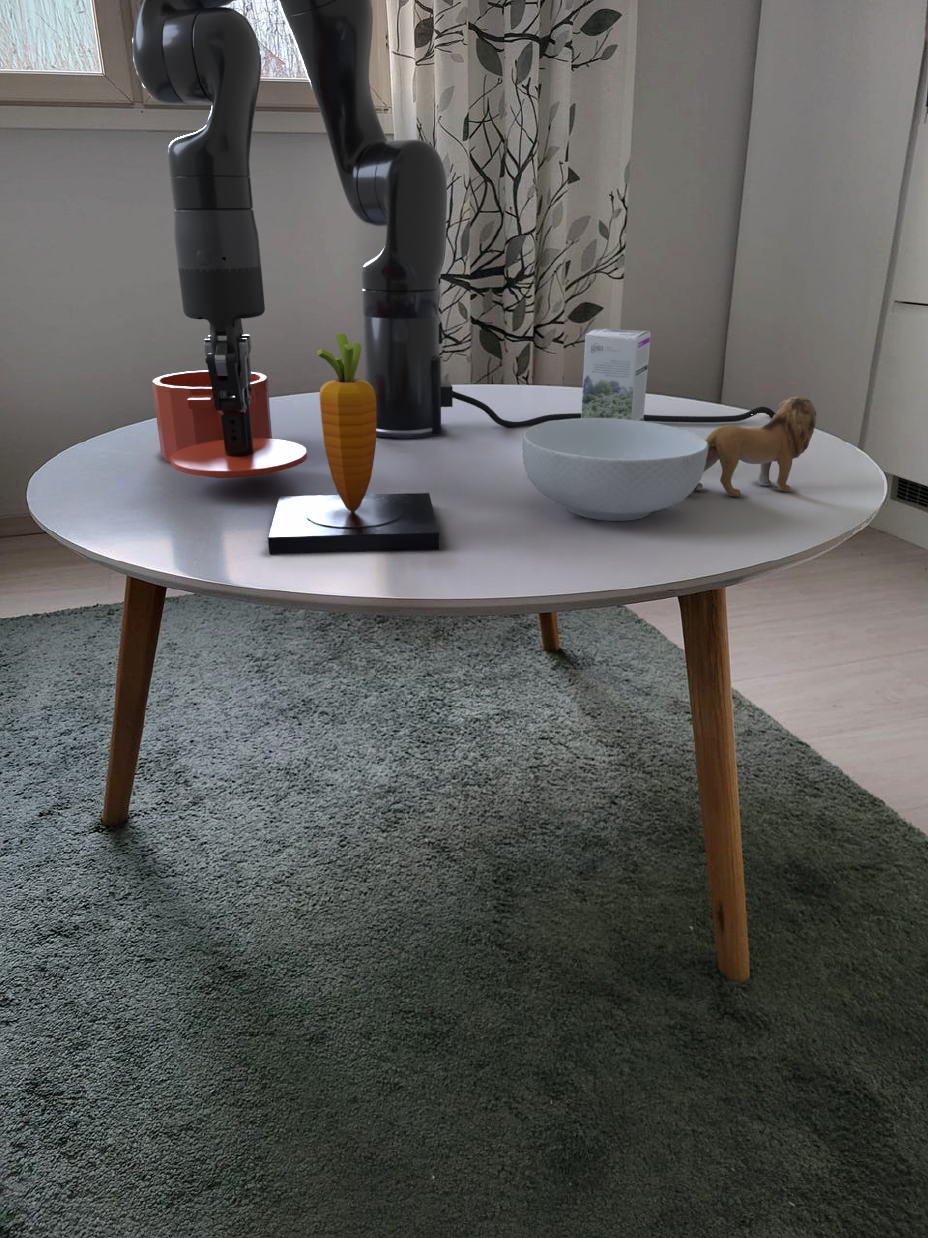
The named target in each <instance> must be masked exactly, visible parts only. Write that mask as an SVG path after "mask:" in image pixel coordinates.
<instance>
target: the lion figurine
mask: <svg viewBox="0 0 928 1238" xmlns="http://www.w3.org/2000/svg"><path fill="white" fill-rule="evenodd" d="M817 415H818V413H817V411H816V408H815V406H814V404H813V402H812V401H811V400H810V399H809V398H806V397H805V396H790V397H789V398H788V399H784V400H783V401H781V402H780V403H779V404H778V410H777V412H776V413H775V415H774V416H773V417H772V418H771V419H770V421H769V422H768V423H766V424H765V425H763V426H761V427H743V426H738V425H733V424H728V425H727V424H725V425H722V426H719V427H717V428H716V429H714V430H713V431H712V432H711V433H710V434H709V435H708V436H707V438H706V439H705V440H706V441H707V443H708V454H707V458H706V464H705V467H704V471H703V473H705V472H706V471H707V470H709V469H710V468H712V466H714V465H715V464H717V462H718V461H719V463H720V466H721V476H720V479H719V482H720V483H721V485H722V487H723V488H724V490H725V492H726V494H727V495H728V496H729V497H734V498H735V497H740V496H741V495H742V492H741V491H740V489H738V488H735V487H733V484H732V477H733V475H734V473H735V471H736V469H737V467H738V464H739V462H740V461H741V462H743V463H745V464H750V465H760V468H759V469H760V470H759V475H758V479H757V480H758V481H757V484H758V485H759V486H764V487H767V486H768V487H769V486H771V484H772V481H771V480H770V470H771V466H772V463H773V462H776V463H777V465H778V476H777V480H776V485H777V489H778V491H780V492H784V493H789V492H791V490H792V488H791V486H790V485H789V484H787V481H788V479H789V475H790V472H791V469H792V467H793V460H794V459H798V458H799V457H800V456H801V455H802V454H803V453H805V451H806V450H807V449H808V448H809V445H810V442H811V439H812V437H813V435H814V432H815V428H816V425H817ZM703 487H704V486H703V483H701V482H699V483H698V485H697V486H696V488H695V489H694V491H692V492H691V493H692V494H693V493H695V492H696V491H702V490H703ZM691 493H690V494H691Z"/></svg>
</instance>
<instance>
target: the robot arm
mask: <svg viewBox="0 0 928 1238" xmlns="http://www.w3.org/2000/svg"><path fill="white" fill-rule="evenodd" d="M236 1H237V0H142V2H141V4H140V6H139V10H138V13H137V16H136V19H135V22H134V28H133V34H132V58H133V64H134V69H135V71H136V74H137V77H138V79H139V81H140V83H141V85H142V86H143V88H144V90H145V91H146V93H148V95H150V96H151V97H152V99H154V100H155V101H157V102H160V103H162V104H164V105H170V106H188V105H189V106H190V105H211V110H210V113H209V116H208V119H207V121H206V124H205V126H204V127H203V128H201V129H199V130H198V131H196V132H193V133H189V134H186V135H183V136H180V137H177V138H175V139H174V140H172V141H171V142H170V144H169V145H168V150H167V162H168V172H169V179H170V187H171V188H170V189H171V196H172V204H173V209H174V211H173V214H174V216H173V217H174V231H173V235H174V246H175V255H176V261H177V269H178V271H177V272H178V278H179V285H180V293H181V294H180V295H181V303H182V311H183V313H184V315H185V316H186V317H187V318H189V319H193V320H206V321H207V322H208V323H209V335H207V338H205V339H204V340H203V341H204V342H203V344H204V355H205V364H206V366H207V370H208V371H209V377H210V382H211V387H212V392H213V398H214V407H215V408H216V411H219V414H221V418H222V427H223V436H224V445H225V449H226V451H228V452H244V451H246V450H247V448H248V438H247V428H246V418H245V409H246V404H245V398H244V396H245V397H248V399H249V404H250V401H251V397H250V396H249V395H251V391H252V388H251V386H250V381H251V377H252V372H253V371H252V364H251V355H250V354H251V351H252V341H251V335H250V334H244V329H243V324H242V323H243V322H242V319H243V320H245V319H246V320H247V319H253V318H257V317H260V316H262V315H263V314H264V313H265V311H266V307H265V306H266V305H265V304H266V303H265V294H264V282H263V271H262V261H261V250H260V249H261V248H260V238H259V233H258V232H259V231H258V227H257V223H256V217H255V212H254V201H253V189H252V179H251V168H250V167H251V166H250V157H251V156H250V155H251V148H252V147H251V145H252V138H253V137H252V136H253V129H254V121H255V114H256V109H257V108H256V107H257V102H258V97H259V91H260V86H261V76H262V53H261V47H260V43H259V40H258V37H257V34H256V32H255V30H254V28H253V26H252V24H251V23H250V21H249V20H248V19H247V17H245V15H243V14H242V13H241V12H240V11H239V10H237V9H235V8H232V7H226V6H229V5H231V4H233V3H235V2H236ZM277 2H278V5H279V8H280V10H281V13H282V15H283V17H284V20H285V22H286V25H287V26H288V29H289V31H290V35H291V36H292V39H293V41H294V43H295V46H296V48H297V51H298V54H299V58H300V60H301V62H302V65H303V69H304V71H305V74H306V76H307V79H308V81H309V85H310V87H311V90H312V92H313V95H314V98H315V100H316V103H317V106H318V109H319V112H320V115H321V118H322V121H323V125H324V129H325V132H326V135H327V139H328V142H329V146H330V149H331V153H332V156H333V159H334V163H335V166H336V171H337V174H338V177H339V180H340V184H341V186H342V190H343V193H344V195H345V198H346V200H347V201H346V202H348V205H349V207H350V209H351V210H352V212H353V213H354V214H355V216H356V217H357V219H358V220H360V221H361V222H363V223H364V224H366V225H368V226H370V227H374V228H386V235H385V243H384V246H383V248H382V250H381V251H380V253H378V255H377V256H375V257H374V258H371V260H368V261H367V262H365V263H364V264H363V266H362V269H361V288H362V310H363V311H362V314H363V341H364V342H363V343H364V367H365V369H364V371H365V381H366V382H368V383H369V384H370V385H371V386H372V387H373V389H374V391H375V394H376V437H377V436H378V437H384V438H393V439H394V438H395V439H396V438H397V439H398V438H399V439H409V438H421V437H428V436H434V435H438V436H439V435H442V408H453V405H454V404H453V403H454V401H453V400H458V401H461V402H464V403H465V404H469V405H472V406H475V407H476V408H478V409H480V410H482V411H483V412H484V413H486V414H487V416H489V418H491V420H492V421H493V422H494V423H496V424H497V425H499V426H501V427H504V428H509V429H511V428H513V429H514V428H521V427H529V426H535V425H538V424H542V423H545V422H550V421H556V420H564V419H577V418H581V412H573V413H571V412H570V413H553V414H552V413H551V414H546V415H541V416H537V417H534V418H533V417H532V418H530V419H525V420H522V421H521V420H520V421H510V420H506V419H504V418H502V417H500V416H499V415H497V413H496V412H495V411H494V409H492V408H491V407H490V406H488V405H487V404H486V403H484V402H482V401H480V400H479V399H476V398H473V397H471V396H468V395H465V394H464V393H461V392H457V391H454V390H453V389H454V388H453V385H452V383H451V381H450V380H442V371H441V370H442V361H441V360H442V359H441V356H440V328H439V327H440V316H439V315H440V313H439V312H440V310H439V309H440V307H439V305H440V303H439V301H440V299H439V296H440V295H439V292H440V291H439V287H440V286H439V285H440V283H439V282H440V281H439V280H440V274H441V271H442V269H443V265H444V260H445V256H446V255H445V254H446V232H447V214H448V213H447V212H448V183H447V175H446V169H445V165H444V163H443V160H442V157H441V155H440V154H439V152H438V151H437V149H436V148H435V147H434V146H433V145H432V144H430V143H429V142H427V141H424V140H420V139H400V140H399V139H398V140H388V138H387V137H386V134H385V132H384V130H383V128H382V125H381V122H380V119H379V116H378V113H377V110H376V108H375V104H374V101H373V95H372V92H371V91H372V90H371V85H370V60H371V51H372V50H371V49H372V40H373V39H372V38H373V26H374V25H373V24H374V23H373V22H374V19H373V18H374V15H373V0H277ZM227 396H235V397H227ZM224 397H227V398H224ZM757 413H758V414H757ZM751 414H753V415H751ZM759 414H765V415H767V416H768V415H769V416H768V417H769V418H770V419H772V417H773V416H774V415H775V414H776V413H775V411H773V409H772V408H770V407H767V406H759V407H756V408H753V409H751V410H749V411H747V412H744V413H741V414H735V415H706V416H705V415H704V416H702V415H659V414H644V418H643V421H644V422H653V423H692V424H693V423H694V424H695V423H698V424H699V423H701V424H704V423H705V424H706V423H707V424H713V423H714V424H715V423H716V424H717V423H735V422H741V421H744V420H747V419H750V418H752V417H754V416H756V415H759Z"/></svg>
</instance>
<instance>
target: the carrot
mask: <svg viewBox="0 0 928 1238" xmlns="http://www.w3.org/2000/svg"><path fill="white" fill-rule="evenodd" d="M335 338H336V342H337V345H338V349H339V350H340V354H341V357H342V358H341V357H339V356H337V357H335V356H334V355H333V354H332V353H331V352H330V351H327V350H326V349H324V348H321V349H319V350H317V353H316V354H317V356H318V357H320V358H322V359H323V360H324V361H325V360H326V362H327V363H328V364H329V365H330V366H331V367H332V368H333V370H334V372H335V373H336V375H337V379H334V380H329V381H326V382H324V383H323V384H322V386H321V387H320V388H319V409H320V417H321V418H320V420H321V429H322V430H321V431H322V436H323V437H322V438H323V446H324V449H325V454H326V459H327V464H328V467H329V471H330V475H331V479H332V482H333V484H334V487H335V490H336V492H337V495H339V496H340V498H341V499H342V501H343V503H344V505H345V507H346V508H347V509H348V510H349V511H350V512H352V513H354V512H355V511H356V510H357V509H358V508H359V507H360V505H361V502H362V500H363V498H364V496H365V494H367V491H368V488H369V485H370V482H371V479H372V474H373V468H374V463H375V455H376V447H377V435H376V394H375V391H374V389H373V387H372V386H371V385H370V384H369V383H368V382H366V380H364V379H359V378H355V375H356V372H357V369H358V366H359V362H360V359H361V352H362V344H360V343H359V341H354V342H353V346H352V345H351V344H350V342H349V340H348V337H347V335H346V333H337V334H336V335H335Z"/></svg>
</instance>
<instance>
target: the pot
mask: <svg viewBox="0 0 928 1238" xmlns="http://www.w3.org/2000/svg"><path fill="white" fill-rule="evenodd" d="M268 381H269V380H268V376H267V375H265V374H263V373H261V372H256V371H252V377H251V381H250V386H251V388H252V391H251V395H249V396H250V397H251V401H250V404H249V409H250V420H251V430H252V438H266V439H273V434H272V433H273V431H272V420H271V408H270V407H271V406H270V394H269V382H268ZM151 385H152V394H153V401H154V410H155V418H156V425H157V433H158V440H159V448H160V453H161V456H162V459H163V460H164V461H166V462H168V463H171V459H170V458H171V456H172V455H173V454H174V453H175V452H177V451H179V450H181V449H183V448H186V447H189V446H193V445H197V444H201V443H206V442H212V441H219V440H224V438H223V429H222V420H221V414H219V411H216V408H215V407H214V398H213V392H212V387H211V382H210V377H209V371H208V369H207V370H206V369H205V370H194V371H193V370H192V371H183V372H175V373H168V374H165V375H161V376H158V377H155V378H154V379H153V380H151Z"/></svg>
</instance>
